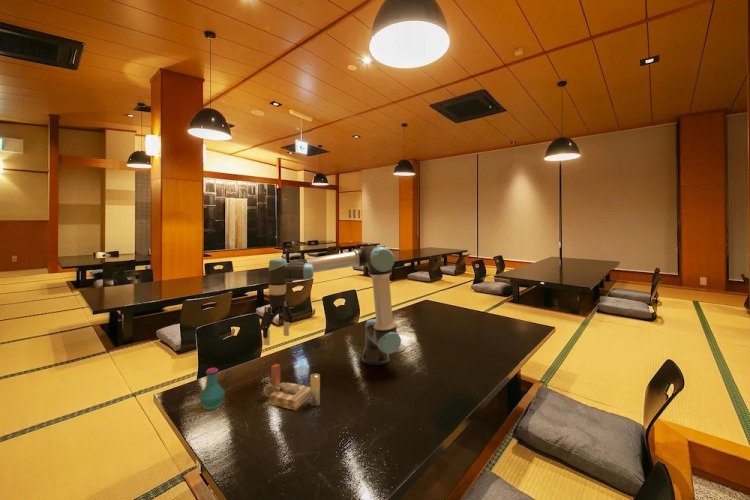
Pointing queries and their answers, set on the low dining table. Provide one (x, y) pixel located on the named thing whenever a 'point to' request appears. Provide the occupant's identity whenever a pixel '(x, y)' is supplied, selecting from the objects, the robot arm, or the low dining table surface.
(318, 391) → the tan rounded cylinder
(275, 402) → the dock
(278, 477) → the low dining table surface
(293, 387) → the pin
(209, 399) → the perfume bottle
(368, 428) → the low dining table surface
